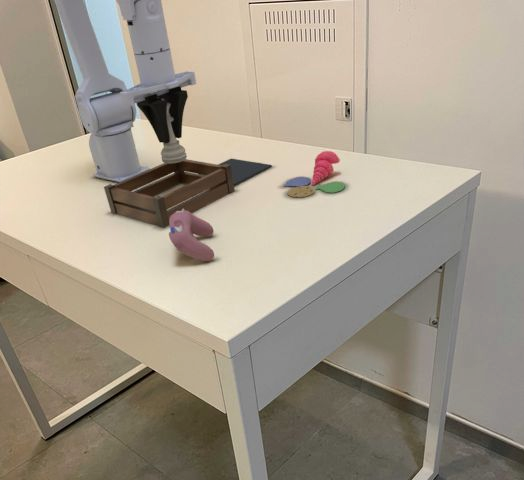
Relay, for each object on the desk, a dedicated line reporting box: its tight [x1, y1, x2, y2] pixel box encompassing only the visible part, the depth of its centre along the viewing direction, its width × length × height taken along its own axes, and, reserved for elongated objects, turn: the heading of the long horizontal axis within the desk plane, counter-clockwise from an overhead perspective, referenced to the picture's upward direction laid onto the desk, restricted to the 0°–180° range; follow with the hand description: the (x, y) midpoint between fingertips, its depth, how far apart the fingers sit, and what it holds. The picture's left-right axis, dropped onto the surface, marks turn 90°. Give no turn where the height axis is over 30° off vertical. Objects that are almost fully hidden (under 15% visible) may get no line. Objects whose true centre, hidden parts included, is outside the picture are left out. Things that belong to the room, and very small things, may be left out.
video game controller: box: [168, 209, 215, 262], centre depth 80 cm, size 10×5×7 cm, turn 5°
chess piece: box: [160, 99, 188, 164], centre depth 93 cm, size 4×4×10 cm
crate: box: [103, 158, 236, 228], centre depth 97 cm, size 14×17×5 cm
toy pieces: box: [283, 150, 346, 198], centre depth 97 cm, size 12×11×4 cm
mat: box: [200, 158, 273, 187], centre depth 108 cm, size 11×11×1 cm
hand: (170, 139), depth 94 cm, fingers closed on chess piece, 2 cm apart
